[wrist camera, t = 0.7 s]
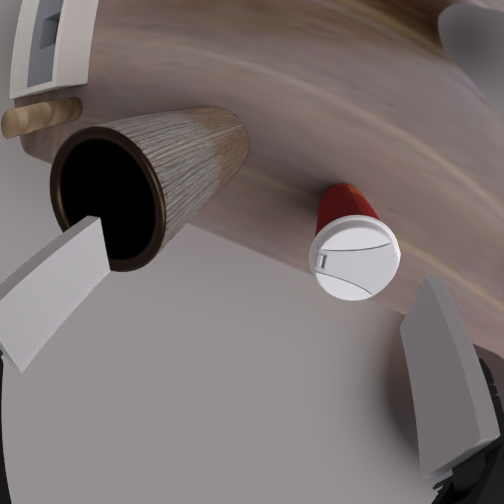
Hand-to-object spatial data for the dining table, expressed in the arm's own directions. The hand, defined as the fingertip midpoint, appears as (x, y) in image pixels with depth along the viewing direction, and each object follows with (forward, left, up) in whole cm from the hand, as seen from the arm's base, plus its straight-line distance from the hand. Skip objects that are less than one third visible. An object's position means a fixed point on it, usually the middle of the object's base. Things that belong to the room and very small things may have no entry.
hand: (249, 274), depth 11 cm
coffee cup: (+6, +7, -27) cm, 29 cm away
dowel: (-4, -36, -27) cm, 45 cm away
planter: (+1, -11, -27) cm, 29 cm away
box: (-19, -40, -27) cm, 52 cm away
